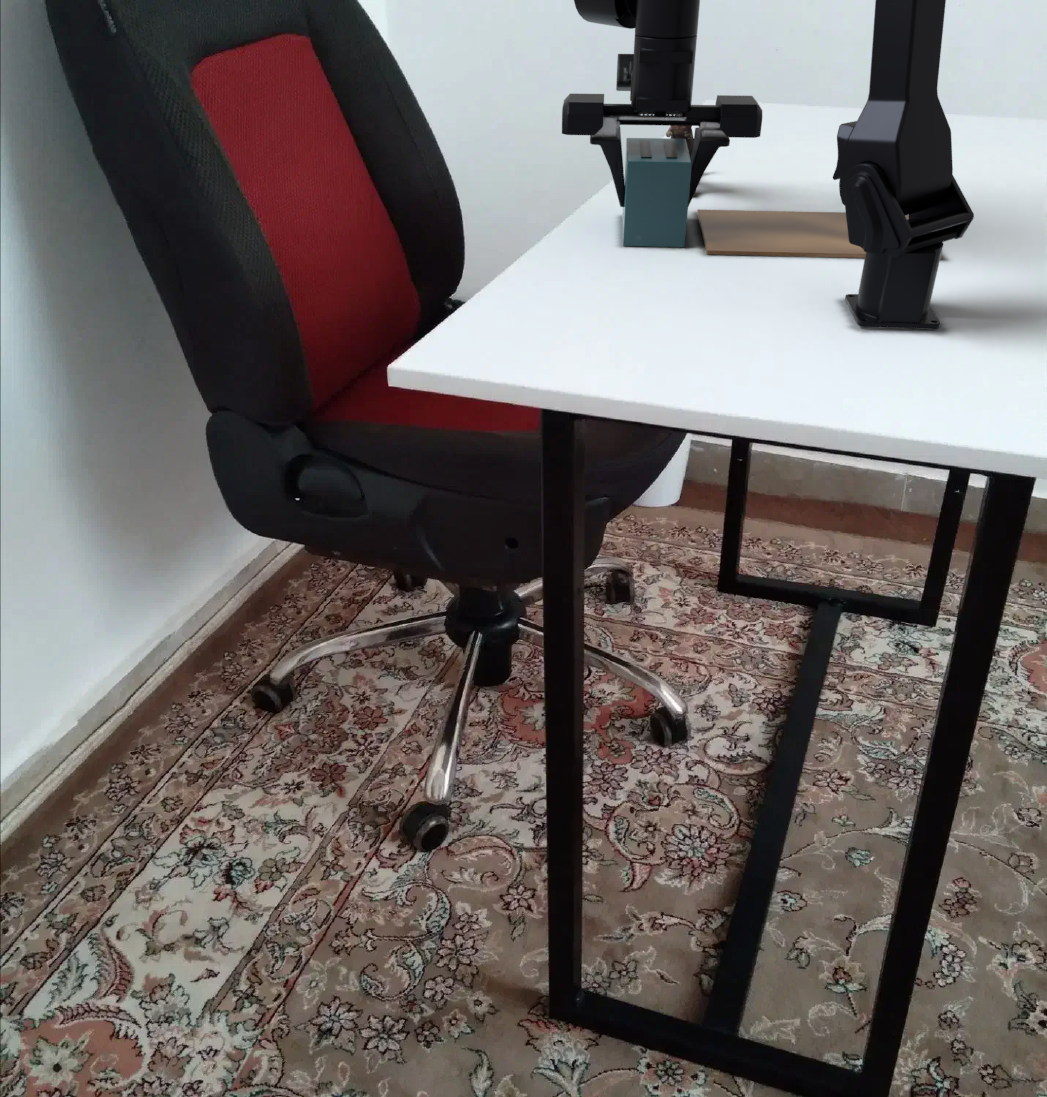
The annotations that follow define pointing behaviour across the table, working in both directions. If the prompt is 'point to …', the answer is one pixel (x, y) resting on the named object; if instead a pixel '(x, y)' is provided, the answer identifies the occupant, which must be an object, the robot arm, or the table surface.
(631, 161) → the toaster
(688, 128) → the dinosaur model
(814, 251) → the mat
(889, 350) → the table surface
